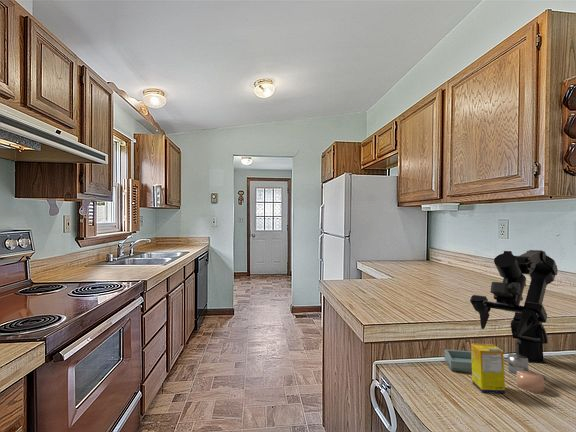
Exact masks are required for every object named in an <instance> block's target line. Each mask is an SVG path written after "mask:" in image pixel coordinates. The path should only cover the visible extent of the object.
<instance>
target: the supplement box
mask: <svg viewBox="0 0 576 432" xmlns="http://www.w3.org/2000/svg"><path fill="white" fill-rule="evenodd" d="M470 351H471V360H472V373H471V379H472V384H473V385H474V386H475V387H476V388H477V389H478V391H480V392H481V393H493V394H494V393H496V394H505V393H506V383H505V381H506V380H505V379H506V378H505V362H504V360H505V359H504V350H502V349H501V348H499V347H498V346H497V345H495V344H493V343H470Z"/></svg>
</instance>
